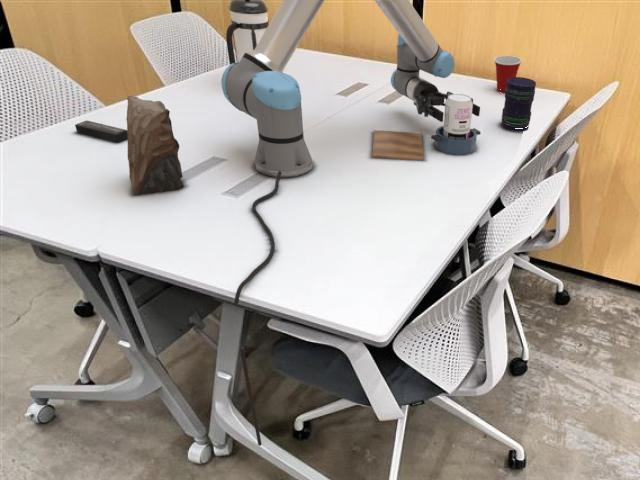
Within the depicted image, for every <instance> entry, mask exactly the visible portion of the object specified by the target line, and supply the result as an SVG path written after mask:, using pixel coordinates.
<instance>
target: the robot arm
mask: <svg viewBox="0 0 640 480" xmlns="http://www.w3.org/2000/svg"><path fill="white" fill-rule="evenodd" d="M373 1H374V2H375V3H376V5H377V7H379V9H380V10H381V11H382V13H383V15H384V16H385V17H386V19H388V21H389V22H390V23H391V25H392V26H393V28H394V29H395V30H396V31H397V33H398V35H397V45H396V47H397V48H396V49H397V50H396V69H394V71H393V72H392V74H391V77H390V84H391V87H392V88H393V89H394V90H395V91H396V92H397V93H398V94H399V95H401V96H404V97H406V98H407V99H409V100H411V101H412V102H413V105H414V106H415V107H416V112H417V114H418V115H424V118H429V116H430V117H432V118H434V120H436V121H438V122H440V123H444V114H445V111H444V112H443V111H442V110H440V109H439V108H437V107H441V106H442V107H445V101H446V100H447V98H448V96H449V95H451V94H454V93H453V92H451V91H446V93H443V92H441V91H440V90H439V89H438V86H436V85H435V84H434V83H431V82H430V81H428V80H426V79H425V78H422V77H420V71H423V72H425V73H427V74H430V75H432V76H434V77H436V78H437V77H438V78H441V79H446V78H449V77H450V76H451V75H452V73H453V71H454V70H455V65H456V64H455V58H454V55H452V53H450V52H448V51H446V50H444V49H443V48H442V47H441V45H439V43H438V41H437V40H436V38H435V37H434V35H433V34H432V32H431V31H430V29H429V27H427V25H426V24H425V22H424V20H423V19H422V18H421V16H420V14H419V13H418V11H417V10H416V9H415V7H414V5H413V4H412V2H411V1H410V0H373ZM324 3H325V0H282V1H281V3H280V5H279V6H278V8H277V10H276V12H275V13H274V15H273V17H272V19H271V21H269V26H268V27H267V29H266V31H265V32H264V34H263V36H262V37H261V39H260V41H259V43H258V44H257V46H256V48H255V49H254V50H253V51H248V52H245V54H244V55H243V57H242V59H241V60H240V62H237V61H235V63H232V64H231V65H230V64H229V65H228V66H227V67H226V68H225V69H224V71H223V73H222V76H221V89H222V93H223V96H224V97H225V99H226V100H227V101H228V103H229V104H231V105H232V106H233V107H234V108H236V109H237V110H238V111H240V112H243V113H245V114H246V115H248V116H250V117H251V118H253V119H255V120H256V126H257V132H258V143H257V146H256V147H257V148H256V152H255V157H254V163H255V169H256V170H257V171H258V172H259V173H260V174H263V175H266V176H269V177H273V178H276V179H275V186H274V189H273V190H272V191H271V192H269V193H267V194H265V195H263V196H261V197H258V198H257V199H255V200H254V201H253V203H252V205H251V210H252V212H253V214H254V215H255V216H256V218H257V219H258V221H259V222H260V224H261V225H262V227H263V228H264V229H265V231H266V232H267V234H268V237H269V240H270V251H269V254H268V255H267V257H266V258H265V259H264V261H262V262H261V263H260V264H259V265H258V266H256V267H255V268H254V269H253V270H252V271H251V273H250V274H249V275H248V276H247V277H246V278H245V279H244V280H243V281H242V282H241V283H240V284H239V285H238V287H237V289H236V292H235V296H234V302H233V303H234V305H238V304H239V302H240V297H241V293H242V290H243V288H244V287H245V286H246V285H247V284H248V283H249V282H250V281H251V280H252V279H253V278H254V276H256V274H257V273H259V271H260V270H261V269H263V268H264V267H265V266H266V265H267V264H268V263H269V262H270V261H271V259H272V258H273V256H274V254H275V248H276V243H275V238H274V235H273V233H272V231H271V229H270V228H269V226H268V225H267V223H265V221H264V219H263V217H262V216H261V214H260V213H259V212H258V211H257V209H256V206H257V204H259V203H260V202H262V201H264V200H266V199H268V198H270V197H272V196H273V195H275V194H276V193H277V192H278V190H279V185H280V180H281V178H294V177H299V176H303V175H305V174H307V173H308V172H311V170H312V169H313V158H312V155H311V153H310V150H309V147H308V145H307V143H306V140H305V137H304V136H305V135H304V125H303V111H302V110H303V109H302V94H301V89H300V83H299V82H298V80H297V79H295V78H294V77H293V76H291V74H287V73H284V70H285V68H286V67H287V65H288V63H289V62H290V60H291V58H292V57H293V54H294V53H295V51H296V49H298V46H299V45H300V42H301V41H302V40H303V38H304V36H305V34H306V33H307V32H308V30H309V28H310V26H311V25H312V23H313V21H314V19H315V17H316V16H317V14H318V13H319V11H320V9H321V7H322V6H323V4H324ZM471 101H472V103H473V107H472V115H474V116H476V117H480V114H481V113H480V112H481V106H479V105H477V104H476V103H474V98H473V97H471ZM436 106H437V107H436ZM240 357H241V363H242V364H241V365H242V368H243V374H244V381H245V384H246V391H247V395H248V401H249V406H250V410H251V415H252V419H253V425H254V430H255V435H256V440H257V445H258V446H259V447H260V446H262V445H263V444H262V439H261V433H260V427H259V422H258V418H257V412H256V408H255V407H256V406H255V402H254V401H255V400H254V397H253V392H252V387H251V381H250V376H249V370H248V365H247V364H248V363H247V358H246V351H245V349H243V348H242V349H240Z"/></svg>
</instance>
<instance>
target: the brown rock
mask: <svg viewBox="0 0 640 480" xmlns="http://www.w3.org/2000/svg"><path fill="white" fill-rule="evenodd" d="M126 99H127V100H126V101H127V107H126V120H125V121H126V130H127V135H128V139H127V160H128V169H129V176H128V177H129V180H130V184H131V188H132V191H133V196H139V195H146V194H147V195H148V194H154V193H164V192H168V191H178V190H180V189H183V188H184V187H185V185H184V183H183V181H182V178H183V177H184V176H183V172H182V171H183V170H182V165H181V162H180V159H179V150H180V144H179V141H178V139H176V138H175V135H174V131H173V124H172V119H171V118H170V113H171V111H170V109H168V108H166V106H165V104H164V103H163V102H162V101H161V100H154V101H153V100H150V99H149V100H148V99H141V98H139V97H138V96H132V95H128V96H127V98H126Z"/></svg>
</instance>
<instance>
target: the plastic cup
mask: <svg viewBox="0 0 640 480" xmlns="http://www.w3.org/2000/svg"><path fill="white" fill-rule="evenodd" d="M522 61H523V59H522V58H521V57H518V56H514V55H499V56H496V57H494V58H493V62H494V65H495V73H496V74H495V75H496V76H495V79H496V90H497V92H499V93H503V94H505V90H506V85H507V79H508V78H511V77H517V75H518V71H519V68H520V66H521V63H522ZM500 89H501V90H500Z"/></svg>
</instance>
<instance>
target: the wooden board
mask: <svg viewBox="0 0 640 480" xmlns="http://www.w3.org/2000/svg"><path fill="white" fill-rule="evenodd" d="M372 141H373V143H372V155H371V157H372V159H373V158H374V159H388V160H390V159H391V160H407V161H408V160H410V161H424V150H423V140H422V132H411V131H410V132H409V131H396V130H393V131H392V130H377V129H376V130H373V140H372Z"/></svg>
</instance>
